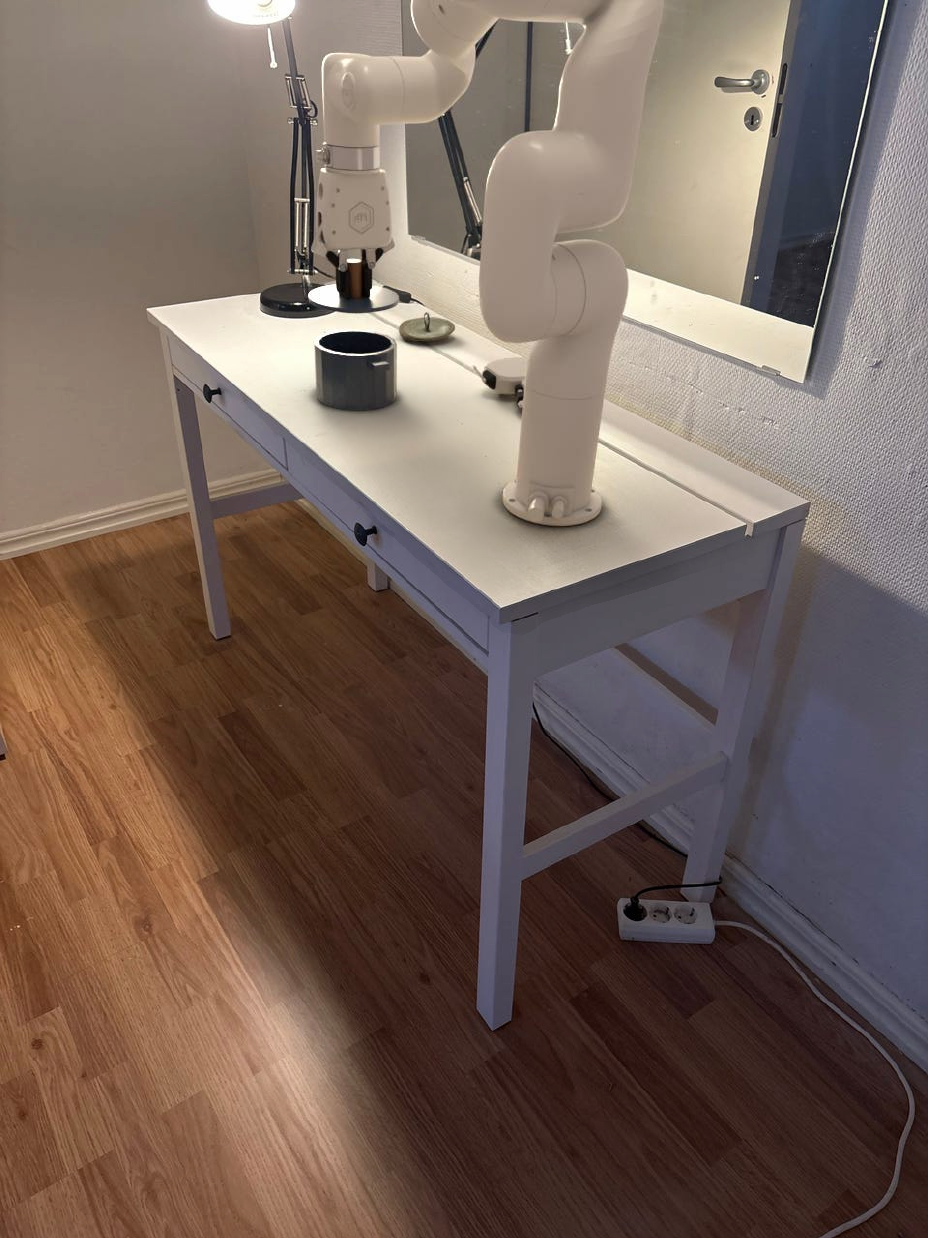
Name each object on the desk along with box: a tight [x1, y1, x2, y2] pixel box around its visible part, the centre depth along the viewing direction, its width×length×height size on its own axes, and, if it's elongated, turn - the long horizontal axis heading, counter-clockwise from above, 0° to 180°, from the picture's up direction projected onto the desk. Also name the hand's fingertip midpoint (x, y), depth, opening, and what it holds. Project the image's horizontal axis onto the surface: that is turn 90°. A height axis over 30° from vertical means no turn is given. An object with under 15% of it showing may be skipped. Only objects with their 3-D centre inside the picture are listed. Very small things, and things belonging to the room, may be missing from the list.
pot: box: [313, 329, 398, 411], centre depth 143 cm, size 12×18×8 cm
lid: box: [398, 311, 456, 342], centre depth 171 cm, size 11×10×5 cm
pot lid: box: [307, 258, 400, 314], centre depth 136 cm, size 13×13×6 cm
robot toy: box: [472, 356, 528, 409], centre depth 147 cm, size 12×4×15 cm
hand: (354, 294), depth 137 cm, fingers closed on pot lid, 2 cm apart
